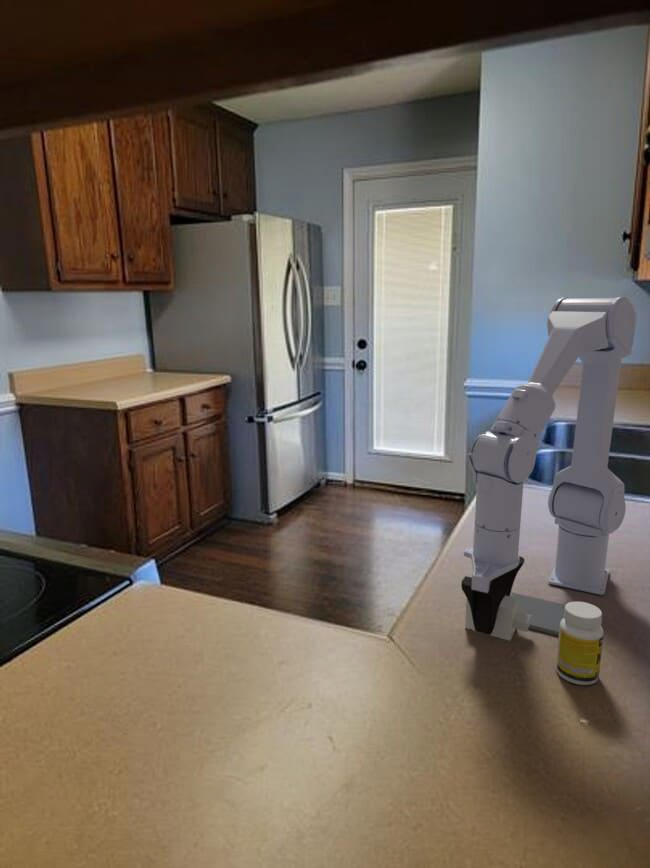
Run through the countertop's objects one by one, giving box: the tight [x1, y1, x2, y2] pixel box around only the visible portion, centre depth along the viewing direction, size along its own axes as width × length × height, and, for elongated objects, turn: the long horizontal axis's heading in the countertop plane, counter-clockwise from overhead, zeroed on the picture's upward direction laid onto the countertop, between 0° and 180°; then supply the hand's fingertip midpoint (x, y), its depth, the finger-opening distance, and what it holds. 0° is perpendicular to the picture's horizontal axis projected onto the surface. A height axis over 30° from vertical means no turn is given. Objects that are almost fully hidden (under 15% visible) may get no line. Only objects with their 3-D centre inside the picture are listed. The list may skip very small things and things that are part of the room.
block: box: [464, 595, 531, 642], centre depth 78 cm, size 4×8×4 cm, turn 60°
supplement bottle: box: [555, 601, 604, 686], centre depth 68 cm, size 5×5×8 cm
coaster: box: [510, 591, 566, 637], centre depth 82 cm, size 8×8×1 cm
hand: (491, 618), depth 79 cm, fingers open, 7 cm apart
